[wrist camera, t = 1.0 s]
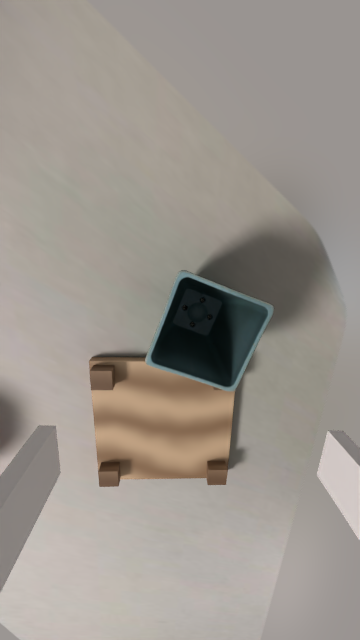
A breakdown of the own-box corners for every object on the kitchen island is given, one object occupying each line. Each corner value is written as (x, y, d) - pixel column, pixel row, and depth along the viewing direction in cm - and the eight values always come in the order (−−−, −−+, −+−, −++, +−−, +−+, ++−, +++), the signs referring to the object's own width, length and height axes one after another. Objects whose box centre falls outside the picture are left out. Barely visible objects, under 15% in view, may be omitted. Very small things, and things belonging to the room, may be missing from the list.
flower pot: (246, 290, 29) (278, 306, 20) (216, 354, 31) (234, 394, 22) (176, 263, 28) (179, 268, 19) (151, 332, 30) (143, 364, 21)
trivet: (92, 357, 30) (84, 366, 28) (235, 357, 31) (240, 367, 29) (101, 472, 35) (95, 489, 33) (225, 470, 36) (229, 487, 33)
